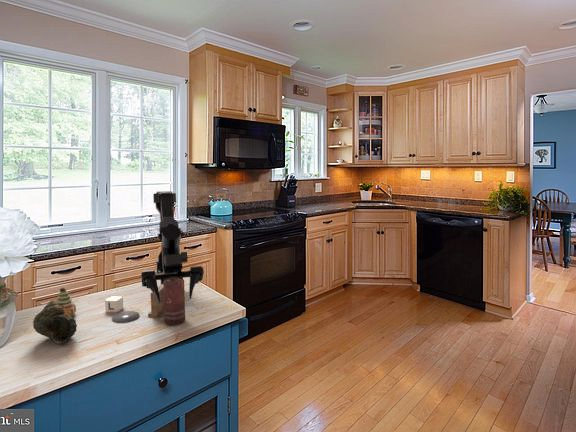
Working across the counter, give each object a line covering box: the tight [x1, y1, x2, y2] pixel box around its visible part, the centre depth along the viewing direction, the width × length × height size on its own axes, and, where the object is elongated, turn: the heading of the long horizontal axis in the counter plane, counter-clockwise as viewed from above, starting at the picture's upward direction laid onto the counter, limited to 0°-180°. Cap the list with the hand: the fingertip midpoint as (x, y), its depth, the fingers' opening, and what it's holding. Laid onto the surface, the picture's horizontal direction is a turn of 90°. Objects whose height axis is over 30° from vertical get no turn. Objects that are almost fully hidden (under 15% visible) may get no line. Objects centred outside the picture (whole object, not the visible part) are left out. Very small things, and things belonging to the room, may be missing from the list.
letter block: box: [104, 295, 124, 313], centre depth 124 cm, size 4×4×4 cm
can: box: [163, 276, 186, 326], centre depth 114 cm, size 6×6×14 cm
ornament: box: [50, 287, 77, 319], centre depth 117 cm, size 8×6×10 cm
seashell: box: [32, 299, 78, 345], centre depth 101 cm, size 11×11×10 cm
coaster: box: [111, 310, 140, 324], centre depth 118 cm, size 8×8×1 cm
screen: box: [147, 284, 164, 318], centre depth 123 cm, size 9×4×8 cm, turn 176°
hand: (175, 300), depth 113 cm, fingers open, 9 cm apart
